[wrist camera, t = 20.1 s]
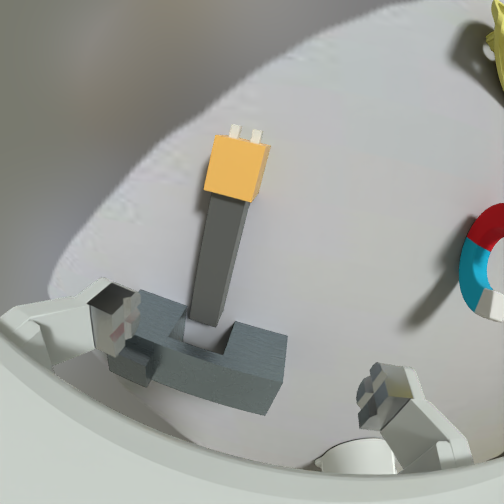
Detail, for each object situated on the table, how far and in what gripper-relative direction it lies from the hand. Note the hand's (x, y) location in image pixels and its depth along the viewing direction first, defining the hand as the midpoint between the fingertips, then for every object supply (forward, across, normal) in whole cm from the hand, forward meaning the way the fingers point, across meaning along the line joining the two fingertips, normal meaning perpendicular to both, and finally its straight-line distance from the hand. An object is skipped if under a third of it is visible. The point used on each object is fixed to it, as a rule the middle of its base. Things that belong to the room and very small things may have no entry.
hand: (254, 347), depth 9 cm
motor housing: (+22, +6, +19) cm, 29 cm away
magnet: (+22, -23, -4) cm, 32 cm away
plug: (+21, +6, +4) cm, 22 cm away
